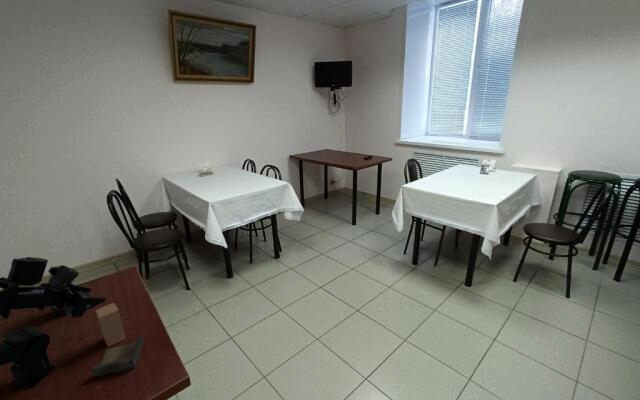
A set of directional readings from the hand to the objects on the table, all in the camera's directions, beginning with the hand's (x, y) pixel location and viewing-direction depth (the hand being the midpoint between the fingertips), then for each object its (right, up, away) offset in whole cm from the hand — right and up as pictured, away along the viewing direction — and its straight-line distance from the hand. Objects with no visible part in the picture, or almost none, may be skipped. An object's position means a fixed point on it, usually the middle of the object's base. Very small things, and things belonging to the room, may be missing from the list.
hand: (97, 294), depth 93 cm
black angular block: (-24, -11, +15) cm, 31 cm away
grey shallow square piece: (+11, -17, -6) cm, 21 cm away
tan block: (+4, -15, +2) cm, 15 cm away
